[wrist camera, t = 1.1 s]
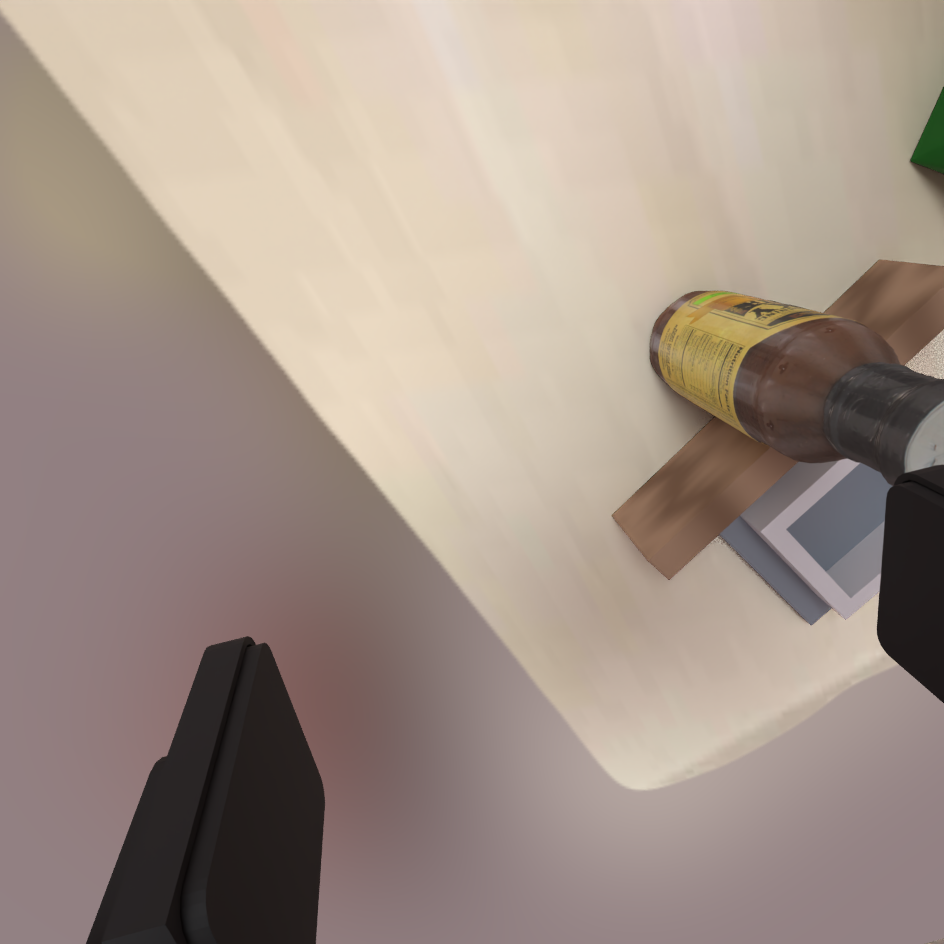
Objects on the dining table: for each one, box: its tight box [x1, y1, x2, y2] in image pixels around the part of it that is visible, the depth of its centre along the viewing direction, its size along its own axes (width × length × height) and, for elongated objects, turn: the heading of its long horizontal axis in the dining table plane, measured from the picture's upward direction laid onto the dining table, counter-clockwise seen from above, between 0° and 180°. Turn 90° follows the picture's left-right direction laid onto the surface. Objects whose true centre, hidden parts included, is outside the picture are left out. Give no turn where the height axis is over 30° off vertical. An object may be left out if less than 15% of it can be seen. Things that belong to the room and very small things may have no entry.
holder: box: [719, 459, 893, 625], centre depth 43 cm, size 14×14×4 cm
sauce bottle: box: [650, 291, 944, 486], centre depth 30 cm, size 6×6×20 cm
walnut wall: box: [612, 260, 944, 580], centre depth 39 cm, size 22×2×6 cm, turn 136°
